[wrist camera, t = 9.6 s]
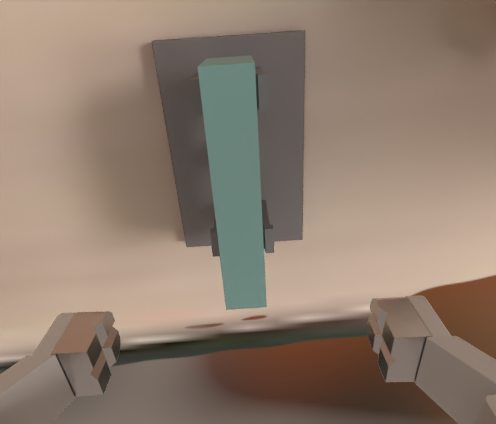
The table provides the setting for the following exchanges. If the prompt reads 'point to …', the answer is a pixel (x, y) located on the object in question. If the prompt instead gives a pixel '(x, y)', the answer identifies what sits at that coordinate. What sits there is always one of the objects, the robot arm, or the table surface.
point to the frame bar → (235, 175)
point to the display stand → (269, 129)
